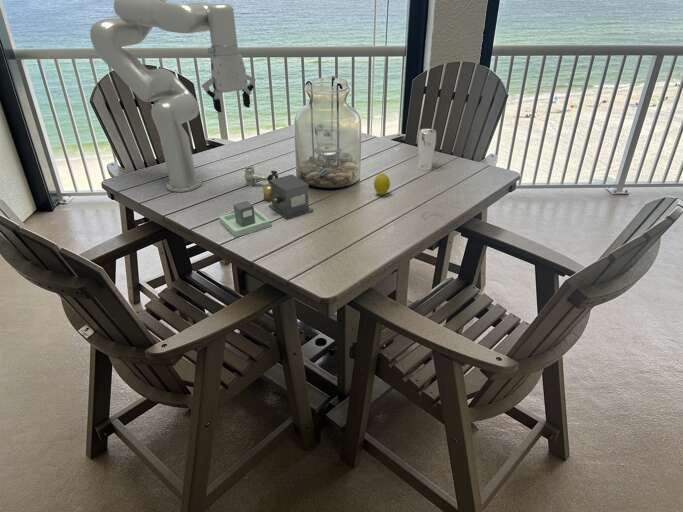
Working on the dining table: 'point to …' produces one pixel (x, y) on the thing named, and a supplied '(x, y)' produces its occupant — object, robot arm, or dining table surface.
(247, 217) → the block
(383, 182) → the lemon
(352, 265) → the dining table surface
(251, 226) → the tray
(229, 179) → the dining table surface
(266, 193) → the cylinder
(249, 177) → the valve
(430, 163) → the beer glass
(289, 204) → the box
